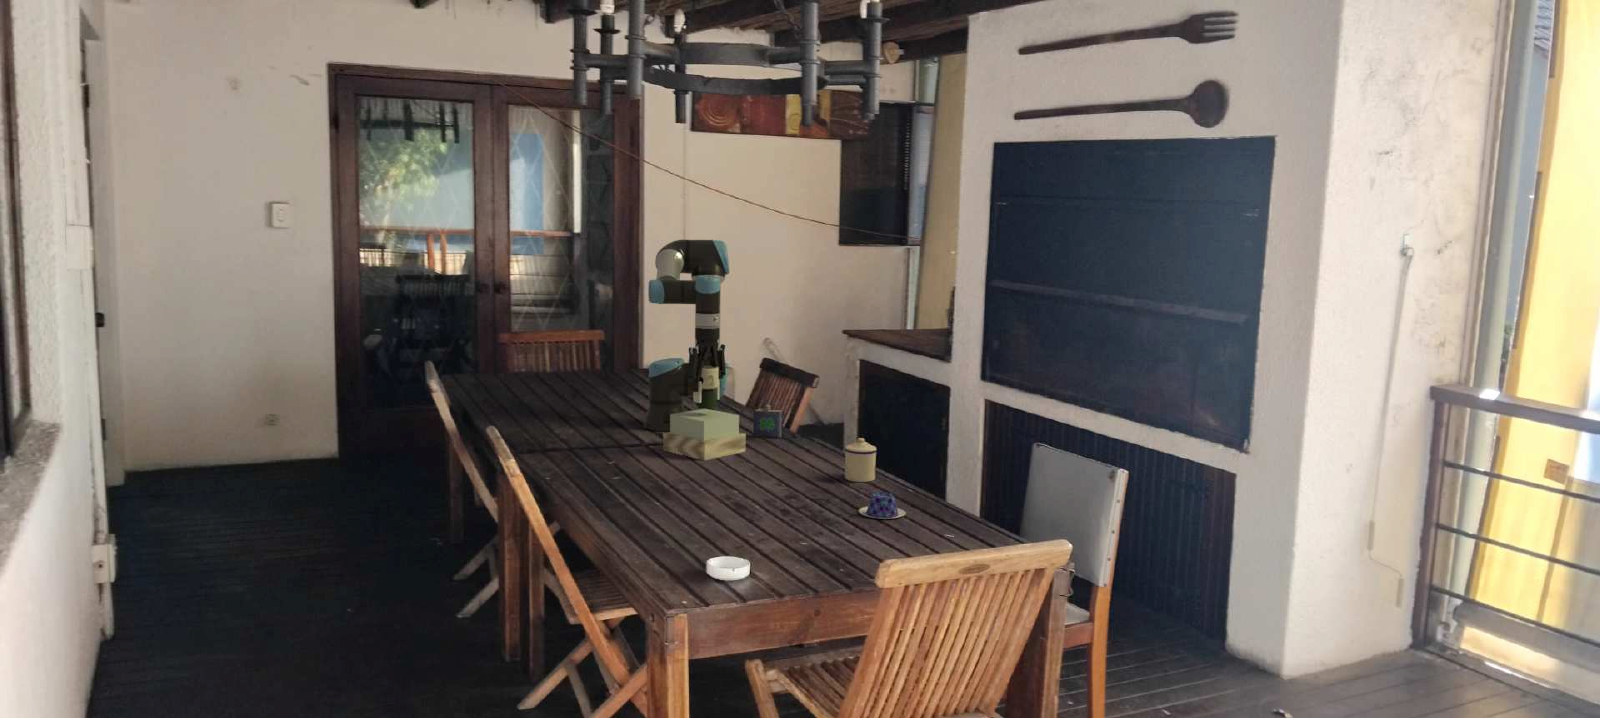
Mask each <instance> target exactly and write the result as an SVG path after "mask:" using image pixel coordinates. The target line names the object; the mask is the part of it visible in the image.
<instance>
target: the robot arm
mask: <svg viewBox="0 0 1600 718" xmlns="http://www.w3.org/2000/svg"><path fill="white" fill-rule="evenodd" d="M654 263H655V264H654V265H655V268H656V270H657V271H656V279H649V281H648V295H647V297H648V301H649V303H650V304H656V305H657V304H658V305H695V306H694V307H695V309H694V310H695V311H694V313H695V315H694V346H693V347H688V354H689V355H688V356H689V357H688V362H685V359H684V358H682V357H672V358H671V357H669V358H663V359H659V360H655V361H653V362H651V363H650V365H649V370H648V371H649V372H648V379H649V380H648V382H649V383H648V384H649V385H648V390H649V391H648V408H647V410H646V413H645V414H646V415H645V418H644V419H643V428H644V429H645V430H650V431H656V432H670V414H676V413H682V412H686V409H685V405H684V398H693V401H692V402H694V403H696V404H697V403H701V391H702V382H701V381H700V377H701V373H702V369H703V366H712V367H718V369H719V372H718V387H717V388H714V389H713V390H714V391H715V395H716V401H718V400H720V398H721V397H722V396H724V395H725V393H726V388H727V387H726V386H727V380H728V371H729V363H727V362H726V359H725V348H726V345H725V344H721V292H722V291H721V286H722V283H724V281H725V280H726V276H727V275H729V274H730V264H729V263H730V262H729V254H728V248H727V244H726V242H725V241H723V240H718V239H716V240H715V239H677V240H673V241H671V242H669V243H667V244H665V245H664V246H662V248H660V249H659V250H658V252H657V253H656V255H655V261H654ZM681 274H687V275H688V274H690V275H691V278H690V280H689V279H686V280H685V279H681Z"/></svg>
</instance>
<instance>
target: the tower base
mask: <svg viewBox="0 0 1600 718" xmlns="http://www.w3.org/2000/svg"><path fill="white" fill-rule="evenodd" d="M662 436H663V438H662V439H663V443H662V444H663V445H662V447H663V448H662V449H663V450H665V451H669V452H672V453H671V454H674V453H676V454H675V455H678V454H679V456H683V455H685V456H684V457H687V456H688V458H691V457H692V459H696V460H701V461H704V460H705V461H708V460H713V459H718V458H721V457H722V456H723V457H727V456H731V455H735V454H740V453H741V454H742V453H744V452H746V446H747V445H746V441H747V440H746V439H747V437H746V436H747V434H746V433H743V432H739V434H737V435H732V436H727V437H722V438H717V439H712V440H706V441H702V440H697V439H693V438H688V437H684V436H679V435H675V434H670V431H668V432H665V433H664V432H663V435H662ZM663 450H662V451H663ZM665 451H664V452H665ZM669 452H668V453H669Z"/></svg>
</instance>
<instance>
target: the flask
mask: <svg viewBox="0 0 1600 718" xmlns="http://www.w3.org/2000/svg"><path fill="white" fill-rule="evenodd" d="M782 414H783V413H782V410H780V409H779V410H778V409H774V410H773V409H771V405H769V404H767V405H766V404H765V407H764V408H762V409H761V408H760V407H759V408H758V409H754V411H753V437H754V438H762V439H763V438H768V439H769V438H772V439H773V438H775V439H776V438H777V439H778V438H779V439H780V438H782Z"/></svg>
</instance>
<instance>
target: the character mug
mask: <svg viewBox="0 0 1600 718" xmlns="http://www.w3.org/2000/svg"><path fill="white" fill-rule="evenodd" d="M718 372H719V369H718V367H712V366H703V369H702V373H701V377H700V381H701V382H702V391H701V403H697V402H696V408H698V409H708V410H709V409H713V408H717V400H716V395H715V391H714V390H713V389H714V388H717V387H718Z"/></svg>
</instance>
